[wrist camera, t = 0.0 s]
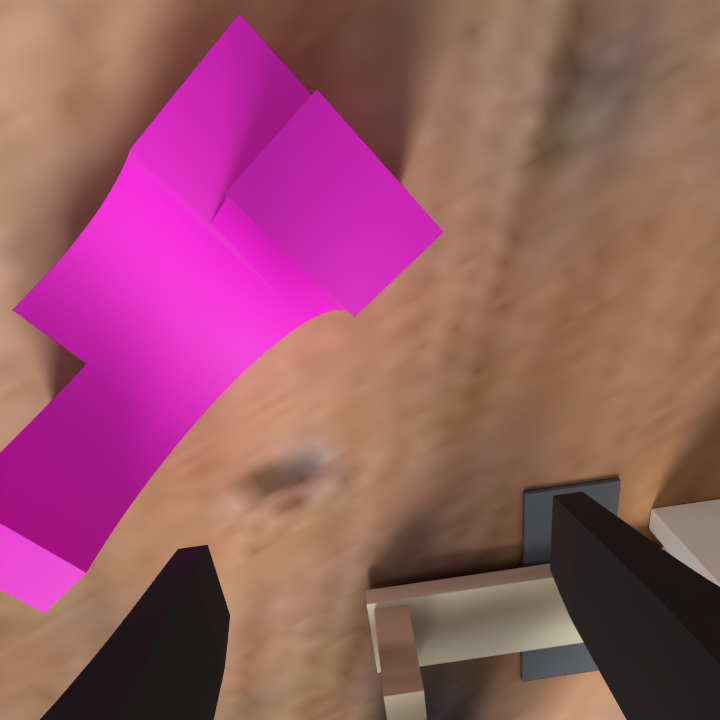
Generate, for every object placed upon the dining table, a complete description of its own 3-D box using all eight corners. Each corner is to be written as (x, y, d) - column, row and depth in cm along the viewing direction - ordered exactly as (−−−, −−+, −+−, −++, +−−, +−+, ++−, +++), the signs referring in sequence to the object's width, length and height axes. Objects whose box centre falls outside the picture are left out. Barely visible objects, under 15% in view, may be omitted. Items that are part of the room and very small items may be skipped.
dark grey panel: (597, 666, 28) (599, 670, 28) (520, 678, 28) (522, 681, 28) (618, 478, 23) (620, 480, 23) (523, 491, 23) (525, 494, 23)
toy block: (261, 48, 16) (212, -30, 9) (396, 198, 18) (443, 232, 11) (-3, 365, 19) (-189, 490, 12) (135, 460, 21) (44, 612, 14)
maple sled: (830, 590, 26) (933, 681, 22) (376, 657, 26) (386, 763, 21) (855, 519, 24) (974, 602, 20) (365, 590, 24) (374, 691, 19)
